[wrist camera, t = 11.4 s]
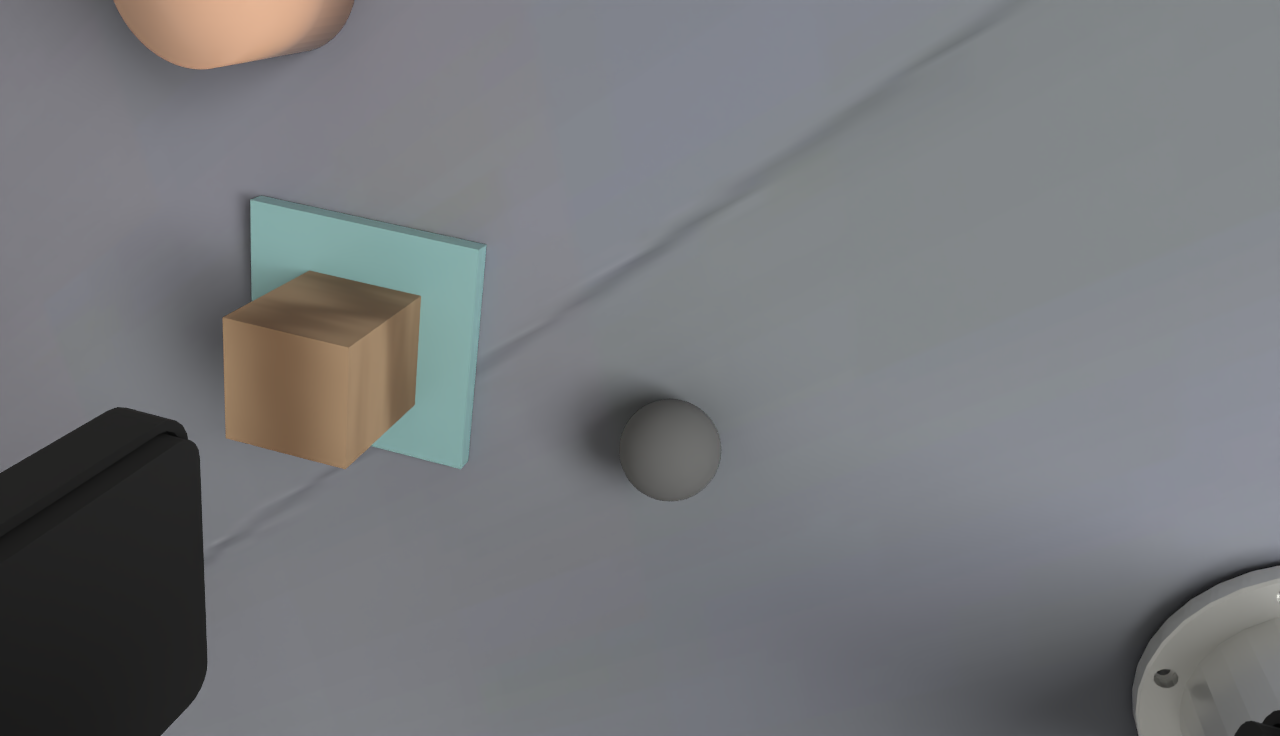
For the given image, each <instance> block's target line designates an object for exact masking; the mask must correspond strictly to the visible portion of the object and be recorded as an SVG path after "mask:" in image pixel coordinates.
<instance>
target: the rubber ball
mask: <svg viewBox="0 0 1280 736" xmlns="http://www.w3.org/2000/svg"><path fill="white" fill-rule="evenodd" d="M619 454H620V461H621V465H622V468H623V470H624V472H625V474H626V476H627V478H628V479H629V481H630V482H631V483H632V484H633V486H634V487H636V488H637V489H638V490H639V491H640V492H642V493H643V494H645V495H647V496H649V497H651V498H654V499H657V500H662V501H678V500H684V499H687V498H690V497H692V496H694V495H696V494H697V493H699V492H700V491H702V490H703V489H704V488H705V487H706V486H707V485H708V484H709V483H710V482H711V480H712V479H713V477H714V476H715V474H716V472H717V469H718V467H719V463H720V459H721V442H720V437H719V434H718V431H717V429H716V427H715V425H714V423H713V422H712V420H711V419H710V418H709V417H708V415H707V414H705V413H704V412H703V411H702V410H701V409H699V408H698V407H696V406H695V405H693V404H690V403H688V402H685V401H682V400H676V399H664V400H659V401H655V402H652V403H649V404H647V405H645V406H644V407H642V408H641V409H640V410H638V411H637V412H636V413H635V414H634V415H633V416H632V417H631V418H630V420H629V421H628V422H627V424H626V426H625V428H624V430H623V433H622V435H621V439H620V447H619Z"/></svg>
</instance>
